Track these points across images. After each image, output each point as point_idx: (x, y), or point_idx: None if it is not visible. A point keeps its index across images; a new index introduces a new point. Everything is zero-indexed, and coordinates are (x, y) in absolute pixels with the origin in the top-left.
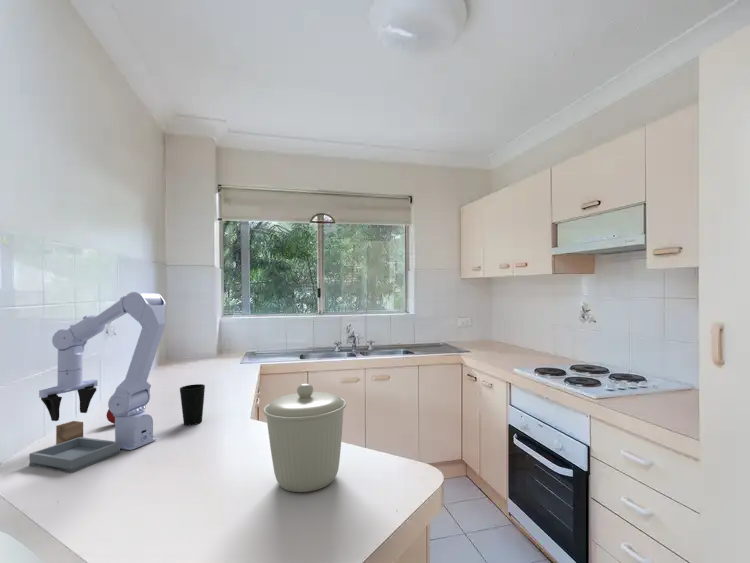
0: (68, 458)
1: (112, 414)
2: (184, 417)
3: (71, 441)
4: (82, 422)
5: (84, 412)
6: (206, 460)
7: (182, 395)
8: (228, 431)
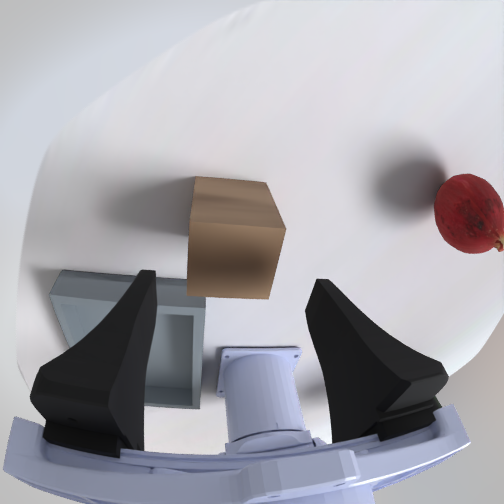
0: None
1: (446, 227)
2: None
3: (167, 311)
4: (264, 297)
5: (305, 312)
6: (212, 453)
7: None
8: (324, 428)
